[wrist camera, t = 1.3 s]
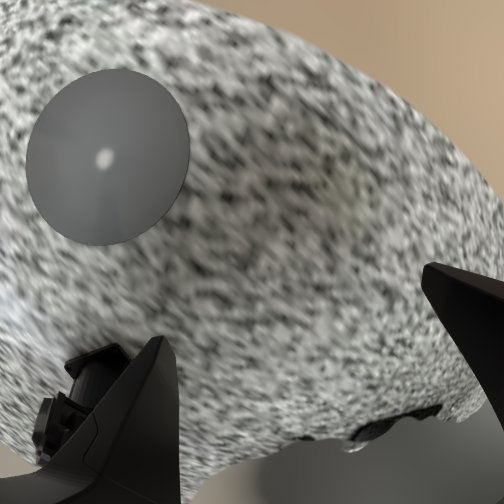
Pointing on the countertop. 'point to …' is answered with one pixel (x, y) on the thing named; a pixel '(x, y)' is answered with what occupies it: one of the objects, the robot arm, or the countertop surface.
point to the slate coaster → (107, 157)
